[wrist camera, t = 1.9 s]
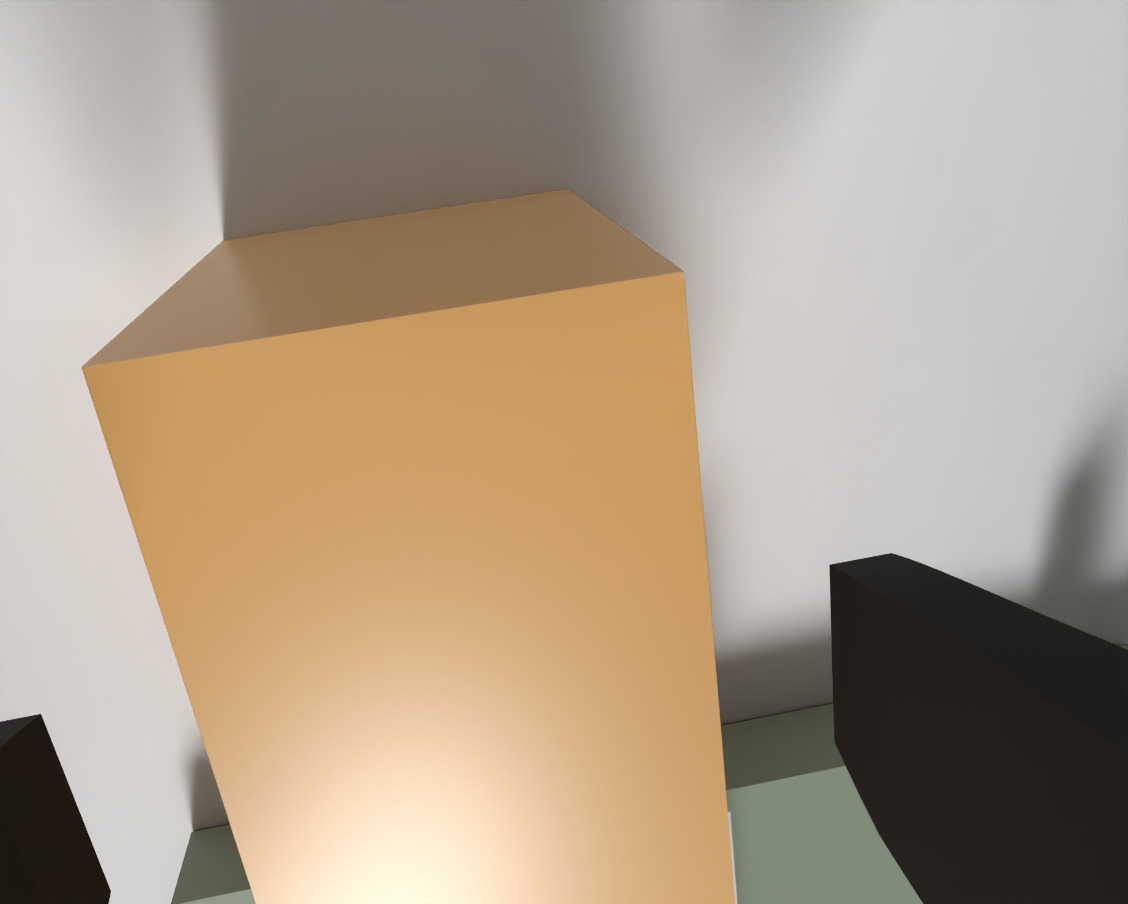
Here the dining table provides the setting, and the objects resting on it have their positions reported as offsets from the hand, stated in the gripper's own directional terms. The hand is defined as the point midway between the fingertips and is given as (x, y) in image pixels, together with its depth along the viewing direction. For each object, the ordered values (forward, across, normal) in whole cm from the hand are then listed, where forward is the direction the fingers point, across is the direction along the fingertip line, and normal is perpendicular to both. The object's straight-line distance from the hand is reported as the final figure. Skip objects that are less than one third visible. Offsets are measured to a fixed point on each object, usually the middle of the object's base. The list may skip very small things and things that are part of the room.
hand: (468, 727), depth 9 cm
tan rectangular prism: (+6, 0, 0) cm, 6 cm away
